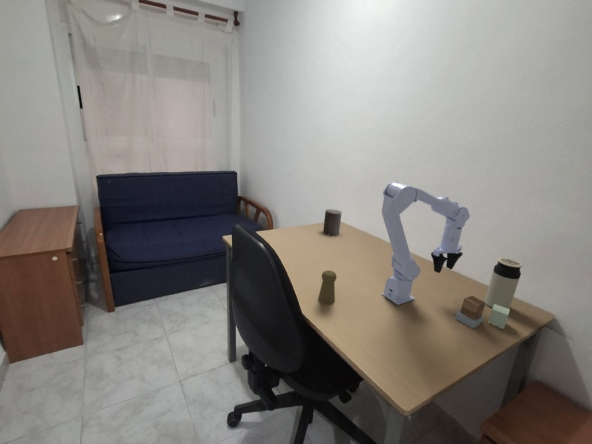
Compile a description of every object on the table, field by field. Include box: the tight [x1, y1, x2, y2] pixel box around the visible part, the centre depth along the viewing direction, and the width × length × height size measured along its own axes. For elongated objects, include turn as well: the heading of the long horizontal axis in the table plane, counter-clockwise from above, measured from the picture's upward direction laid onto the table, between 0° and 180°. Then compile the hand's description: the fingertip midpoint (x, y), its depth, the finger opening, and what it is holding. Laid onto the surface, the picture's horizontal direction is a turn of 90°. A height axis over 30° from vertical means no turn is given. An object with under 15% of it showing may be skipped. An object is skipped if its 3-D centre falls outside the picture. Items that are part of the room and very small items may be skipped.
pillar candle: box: [322, 208, 343, 236], centre depth 175 cm, size 10×10×15 cm
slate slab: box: [455, 309, 485, 329], centre depth 99 cm, size 6×6×3 cm
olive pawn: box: [317, 269, 337, 305], centre depth 104 cm, size 6×6×11 cm
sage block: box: [487, 304, 511, 330], centre depth 98 cm, size 4×4×6 cm
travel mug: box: [483, 257, 524, 309], centre depth 107 cm, size 8×8×18 cm
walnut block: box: [460, 295, 487, 320], centre depth 97 cm, size 4×4×6 cm
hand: (443, 270), depth 112 cm, fingers open, 7 cm apart
